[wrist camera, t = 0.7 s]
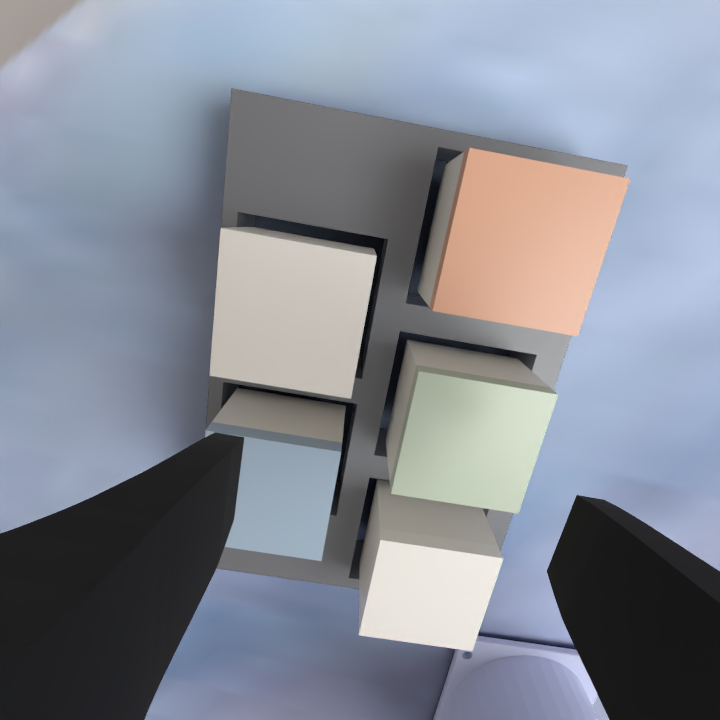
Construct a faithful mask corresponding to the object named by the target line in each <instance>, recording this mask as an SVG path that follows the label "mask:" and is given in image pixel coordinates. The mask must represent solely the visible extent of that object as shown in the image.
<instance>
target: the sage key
mask: <svg viewBox="0 0 720 720" xmlns="http://www.w3.org/2000/svg"><path fill="white" fill-rule="evenodd" d="M557 397H558V394H557V393H556V392H555V391H553V390H552V389H551V388H550V387H549V386H548V385H547V384H546V383H544V382H543V381H542V380H541V379H540V378H539V377H538V376H537V375H535V374H534V373H533V372H532V371H531V370H530V369H529V368H528V367H526V366H525V365H524V364H523V363H522V362H521V361H520V360H519V359H517V358H512V357H506V356H500V355H494V354H489V353H483V352H477V351H471V350H465V349H459V348H454V347H448V346H442V345H436V344H430V343H424V342H419V341H413V340H407V342H406V347H405V351H404V356H403V361H402V365H401V370H400V375H399V380H398V384H397V389H396V394H395V398H394V403H393V408H392V412H391V417H390V422H389V426H388V431H387V436H386V450H387V460H388V470H389V479H390V489H391V494H395V495H402V496H408V497H415V498H421V499H427V500H434V501H440V502H447V503H453V504H460V505H466V506H473V507H479V508H485V509H492V510H498V511H505V512H511V513H518V514H519V511H520V508H521V505H522V502H523V499H524V496H525V493H526V490H527V487H528V484H529V481H530V478H531V475H532V472H533V469H534V466H535V463H536V460H537V457H538V454H539V451H540V448H541V445H542V442H543V439H544V436H545V433H546V430H547V427H548V424H549V421H550V418H551V415H552V412H553V409H554V406H555V403H556V400H557Z"/></svg>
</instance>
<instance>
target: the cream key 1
mask: <svg viewBox="0 0 720 720" xmlns="http://www.w3.org/2000/svg"><path fill="white" fill-rule="evenodd" d="M376 259H377V255H376V252H375V250H374V248H369V247H364V246H358V245H353V244H347V243H342V242H336V241H331V240H325V239H320V238H314V237H309V236H303V235H297V234H292V233H286V232H281V231H275V230H270V229H264V228H259V227H231V228H221V230H220V243H219V256H218V269H217V282H216V296H215V309H214V322H213V335H212V349H211V362H210V375H209V376H215V377H221V378H227V379H233V380H239V381H245V382H251V383H257V384H263V385H270V386H276V387H282V388H288V389H294V390H300V391H306V392H312V393H318V394H324V395H330V396H336V397H343V398H349V399H351V396H352V391H353V385H354V380H355V374H356V369H357V363H358V358H359V352H360V347H361V341H362V336H363V330H364V325H365V319H366V314H367V308H368V303H369V297H370V292H371V286H372V281H373V275H374V270H375V264H376Z"/></svg>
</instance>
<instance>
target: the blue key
mask: <svg viewBox="0 0 720 720" xmlns="http://www.w3.org/2000/svg"><path fill="white" fill-rule="evenodd" d="M345 408H346V405H340V404H333V403H327V402H321V401H315V400H309V399H303V398H297V397H291V396H285V395H278V394H272V393H266V392H260V391H254V390H248V389H242V388H237V389H236V390H235V392H234V393H233V394H232V396H231V397H230V398H229V400H228V401H227V402H226V404H225V405H224V406H223V408H222V409H221V410H220V412H219V413H218V414H217V416H216V417H215V418H214V420H213V421H212V422H211V424H210V425H209V426H208V428H207V429H206V430H205V437H207V436H209V435H211V434H213V433H215V432H216V433H222V434H228V435H234V436H239V437H244V444H243V452H242V460H241V468H240V476H239V484H238V492H237V500H236V508H235V516H234V521H233V524H232V527H231V530H230V533H229V536H228V539H227V542H226V544H225V547H229V548H236V549H242V550H249V551H256V552H263V553H270V554H276V555H283V556H290V557H297V558H304V559H310V560H317V561H322V555H323V550H324V544H325V539H326V533H327V528H328V522H329V517H330V511H331V506H332V500H333V495H334V489H335V484H336V478H337V473H338V467H339V462H340V456H341V450H342V439H343V429H344V418H345Z"/></svg>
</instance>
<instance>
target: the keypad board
mask: <svg viewBox="0 0 720 720" xmlns="http://www.w3.org/2000/svg"><path fill="white" fill-rule="evenodd" d="M469 148H474V149H479V150H484V151H489V152H494V153H500V154H505V155H510V156H515V157H520V158H525V159H531V160H536V161H541V162H546V163H551V164H556V165H562V166H567V167H572V168H577V169H582V170H588V171H593V172H598V173H603V174H608V175H613V176H619V177H624V176H625V173H626V170H627V167H628V165H623V164H618V163H612V162H607V161H602V160H597V159H592V158H587V157H582V156H576V155H571V154H566V153H561V152H556V151H551V150H546V149H540V148H535V147H530V146H525V145H520V144H515V143H510V142H505V141H499V140H494V139H489V138H484V137H479V136H474V135H469V134H463V133H458V132H453V131H448V130H443V129H438V128H433V127H427V126H422V125H417V124H412V123H407V122H402V121H397V120H391V119H386V118H381V117H376V116H371V115H366V114H361V113H356V112H350V111H345V110H340V109H335V108H330V107H325V106H320V105H314V104H309V103H304V102H299V101H294V100H289V99H284V98H278V97H273V96H268V95H263V94H258V93H253V92H248V91H242V90H237V89H232V90H231V103H230V116H229V129H228V143H227V156H226V169H225V182H224V195H223V208H222V222H221V228H231V227H254V219H255V215H258V216H263V217H269V218H274V219H280V220H285V221H291V222H296V223H302V224H307V225H313V226H318V227H324V228H329V229H335V230H340V231H346V232H351V233H357V234H362V235H368V236H373V237H379V238H384V244H383V250H382V255H381V261H380V266H379V271H378V277H377V282H376V288H375V293H374V298H373V304H372V309H371V315H370V320H369V325H368V331H367V336H366V342H365V347H364V353H363V358H362V359H358V363H357V369H356V374H355V380H354V385H353V391H352V396H351V399H349V398H343V397H336V396H330V395H324V394H318V393H312V392H306V391H300V390H294V389H288V388H282V387H276V386H270V385H263V384H257V383H251V382H245V381H239V380H233V379H227V378H221V377H215V376H210V380H209V393H208V406H207V419H206V429H207V428H208V426H209V425H210V424H211V422H212V421H213V420H214V418H215V417H216V416H217V414H218V413H219V412H220V410H221V409H222V408H223V406H224V405H225V404H226V402H227V401H228V400H229V398H230V397H231V396H232V394H233V393H234V392H235V390H236V389H237V388H238V384H239V385H245V386H251V387H257V388H263V389H270V390H276V391H282V392H288V393H294V394H300V395H306V396H312V397H318V398H324V399H331V400H337V401H343V402H349V403H354V407H353V412H352V417H351V423H350V428H349V434H348V439H347V444H346V450H345V455H344V461H343V466H342V472H341V477H340V482H336V484H335V489H334V495H333V500H332V506H331V511H330V517H329V522H328V528H327V533H326V539H325V544H324V550H323V555H322V561H317V560H310V559H304V558H297V557H290V556H283V555H276V554H270V553H263V552H256V551H249V550H242V549H236V548H229V547H224V550H223V553H222V555H221V558H220V561H219V564H218V566H217V569H224V570H231V571H238V572H245V573H252V574H259V575H266V576H273V577H280V578H287V579H293V580H300V581H307V582H314V583H321V584H328V585H335V586H342V587H349V588H356V589H359V565H360V557H361V552H362V548H363V543H364V541H359V540H357V535H358V530H359V526H360V521H361V516H362V511H363V506H364V501H365V497H366V492H367V487H368V482H369V477H370V478H377V479H383V480H389V481H390V479H389V470H388V460H387V450H386V436H387V431H388V430H386V429H380V424H381V420H382V415H383V410H384V405H385V400H386V396H387V391H388V386H389V381H390V376H391V372H392V367H393V362H394V357H395V352H396V347H397V343H398V338H399V333H400V331H402V332H408V333H413V334H419V335H425V336H431V337H437V338H442V339H448V340H454V341H460V342H466V343H471V344H477V345H483V346H489V347H495V348H500V349H506V350H511V353H510V356H509V357H512V358H517V359H519V360H520V361H521V362H522V363H523V364H524V365H525V366H526V367H528V368H529V369H530V370H531V371H532V372H533V373H534V374H535V375H537V376H538V377H539V378H540V379H541V380H542V381H543V382H544V383H546V384H547V385H548V386H549V387H550V388H551V389H552V390H553V391H554V388H555V385H556V382H557V379H558V376H559V373H560V370H561V367H562V364H563V361H564V358H565V354H566V351H567V348H568V345H569V342H570V339H571V336H572V335H566V334H561V333H555V332H549V331H544V330H538V329H532V328H527V327H521V326H515V325H509V324H504V323H498V322H492V321H487V320H481V319H475V318H469V317H464V316H458V315H452V314H447V313H441V312H435V311H432V310H431V308H430V307H429V306H428V304H427V303H426V302H425V301H424V299H423V298H422V297H421V296H416V295H410V294H408V290H409V285H410V280H411V275H412V270H413V266H414V261H415V256H416V251H417V246H418V242H419V237H420V232H421V227H422V222H423V217H424V213H425V208H426V203H427V198H428V193H429V189H430V184H431V179H432V174H433V169H434V165H435V160H436V159H438V160H443V161H448V162H450V161H451V160H453V159H454V158H456V157H457V156H459V155H460V154H461V153H463V152H464V151H466V150H467V149H469ZM483 510H484V513H485V515H486V518H487V520H488V522H489V525H490V527H491V530H492V532H493V534H494V537H495V539H496V542H497V544H498V546H499V549H500V551H501V548H502V545H503V542H504V539H505V536H506V533H507V530H508V527H509V524H510V521H511V518H512V515H513V513H511V512H505V511H498V510H492V509H485V508H483Z"/></svg>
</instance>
